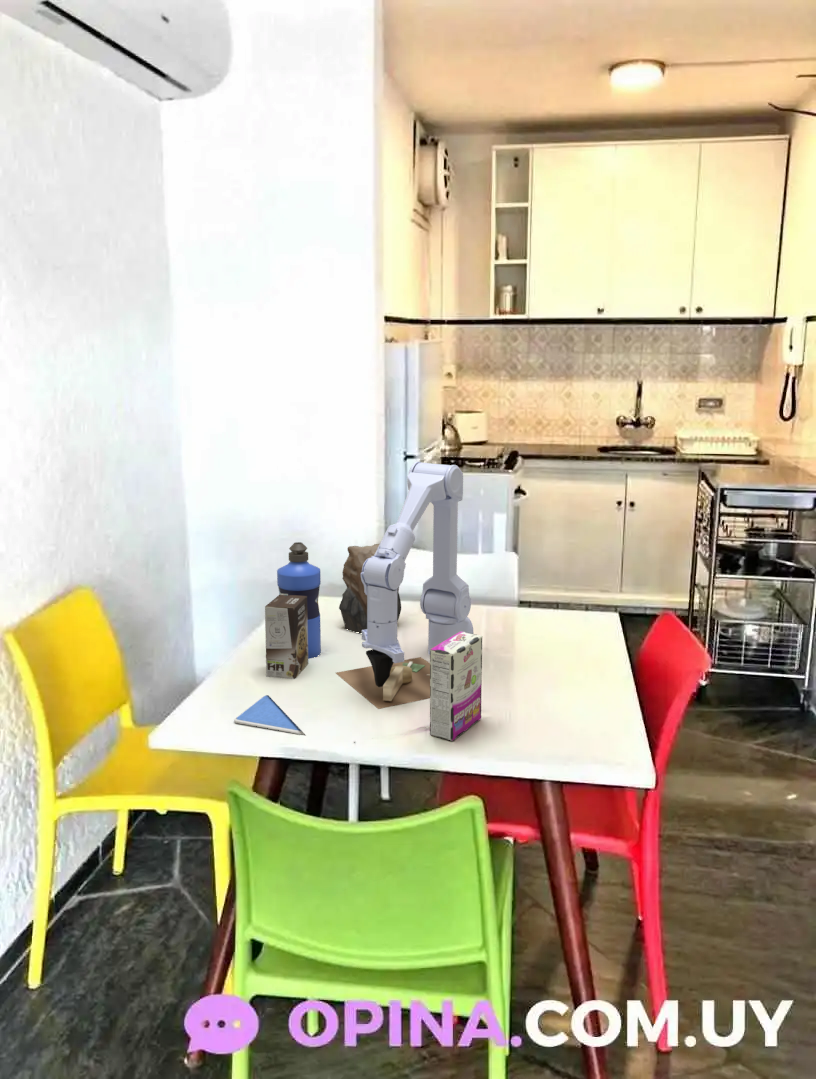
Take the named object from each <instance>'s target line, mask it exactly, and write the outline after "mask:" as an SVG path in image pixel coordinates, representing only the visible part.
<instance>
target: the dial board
mask: <svg viewBox="0 0 816 1079" xmlns="http://www.w3.org/2000/svg"><path fill="white" fill-rule="evenodd" d="M410 661H411V662H413V664H412V665H411V667H410V668H411V669H412V681H410V682H408V683H402V685H401V687H400V688H399V690H398V691H397V693H396V695H395V696H394V698H393V699H392V701H385V700H383V687H378V686H376V683H375V678H374V671H373V668H372V665H370V666H369V665H368V666H365V667H360V668H353V669H348V670H343V671H338V672H335V675H337V676H338V677H340V678H341V679H342V680H343V681H344V682H345V683H346V684H348V685H349V686H350V687H351V688H352V689H353V690H355V691H356V692H357V693H358V694H360V695H361V696H362V697H363V698H364V699H366V700H367V702H369V703H371V705H373V706H374V707H375V708H377V710H380V709H386V708H390V707H395V706H400V705H404V704H410V703H414V702H418V701H424V700H428V699H429V700H430V661H427V660H426V659H425V658H423V657H422V656H420V657H413V658H409V659H404V662H400V663H393V665H392V667H395V666H407V665H408V664H409V662H410Z"/></svg>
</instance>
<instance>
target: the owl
mask: <svg viewBox="0 0 816 1079" xmlns="http://www.w3.org/2000/svg"><path fill="white" fill-rule="evenodd" d="M379 544H380V543H374V544H372V545H365V546H359V545H349V546H347V552H348V557H347V559H346V560H345V562H344V564H343V568H342V580H343V582H344V583H345V586H346V589H345V591H344V592H343V593H342V595H341V596H342V597H341V598H342V599H341V601H340V603H339V606H338V609H339V611H340V615H341V618H342V620H343V624H344V630H345V629H348V630H352V631H351V632H353V631H355V632H359V633H358V634H360V633H362V630H366V629H367V595H366V594H365V593H364V584H363V583H362V580H361V573H362V567H363V564H364V562H365V561H366V560H367V559H368V558H371V557H372V556H374V554H375V552H376V551H377V548H378V546H379ZM399 590H400V586H399V587H398V588H397V623H398V622H399V618H400V615H401V612H402V602H401V597H400V592H399ZM348 630H347V631H348ZM355 632H354V633H355Z"/></svg>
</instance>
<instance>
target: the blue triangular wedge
mask: <svg viewBox="0 0 816 1079" xmlns="http://www.w3.org/2000/svg"><path fill="white" fill-rule="evenodd" d="M233 720H234V721H233V723H235V724H240V725H246V726H251V727H256V726H257V728H263V729H267V728H268V729H269V730H273V731H278V730H279V732H284V733H290V734H295V735H299V736H300V735H301V736H306V734H305V732H303V730H302V729H301V728H300V727H299V726H298V725H297V724H296V723H295V722H294V721H293V720H292V719H291V718H290V717H289V715H287V714H286V712H285V711H284V710H283V709H282V708H281V707H280V706H279V705H278V704H277V702H276V701H274V700H273V699H272V697H271V696H270V695H267V694H266V695H263V696H262V697H261V698H259V699H258V700H257V701H256V702H254V703H253V704H251V705H250V706H249V707H248V708H247V709H245V710H244V711H243V712H242V713H240V714H238V716H236V717H235V718H234V719H233ZM268 729H267V730H268Z"/></svg>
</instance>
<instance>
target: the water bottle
mask: <svg viewBox="0 0 816 1079" xmlns="http://www.w3.org/2000/svg"><path fill="white" fill-rule="evenodd" d="M288 549H289V550H290V551H289V552H288V563H287V564H285V565H283V566H280V567H279V568H277V570H276V576H277V577H276V578H277V581H276V582H277V587H278V593H279V594H278V595H298V596H307V618H308V660H310V659H315V658H318V657H319V656H320V655H321V654H320V653H322V649H321V648H322V647H321V644H322V641H321V638H322V636H321V633H322V632H321V631H322V630H321V629H322V628H321V613H320V608H319V607H320V606H319V596H320V585H321V584H322V583H321V568H320V567H318V566H315V565H314V564H311V563H309V552H308V551H307V550H308V547H307V546H306V545H305V543H303V542H301V541H296V542H293V543H292V545H291V546H290V547H289V548H288ZM318 655H319V656H318ZM314 657H315V658H314Z"/></svg>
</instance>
